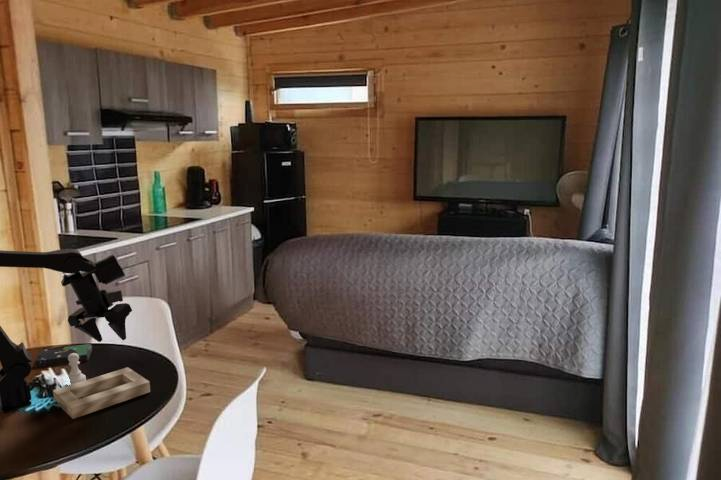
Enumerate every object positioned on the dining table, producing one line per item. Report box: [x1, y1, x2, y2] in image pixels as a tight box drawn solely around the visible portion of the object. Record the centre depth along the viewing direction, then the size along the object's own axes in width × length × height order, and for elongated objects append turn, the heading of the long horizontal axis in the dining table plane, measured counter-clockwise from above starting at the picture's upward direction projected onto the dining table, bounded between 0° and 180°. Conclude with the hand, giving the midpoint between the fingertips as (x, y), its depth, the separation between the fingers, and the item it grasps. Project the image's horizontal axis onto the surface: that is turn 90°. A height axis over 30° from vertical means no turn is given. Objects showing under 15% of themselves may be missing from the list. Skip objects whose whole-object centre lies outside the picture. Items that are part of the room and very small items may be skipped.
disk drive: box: [34, 343, 93, 368], centre depth 174 cm, size 10×3×15 cm
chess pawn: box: [68, 353, 87, 385], centre depth 155 cm, size 5×5×9 cm
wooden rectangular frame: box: [52, 366, 151, 420], centre depth 147 cm, size 20×14×3 cm
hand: (112, 340), depth 154 cm, fingers open, 9 cm apart
